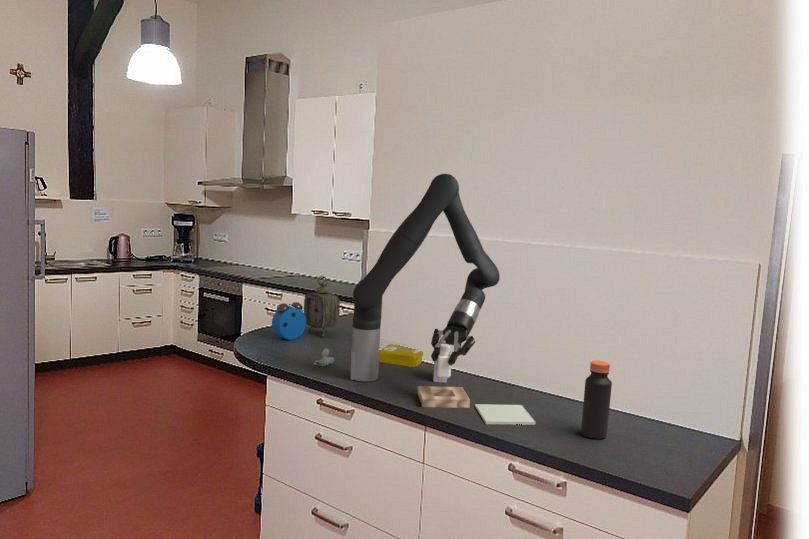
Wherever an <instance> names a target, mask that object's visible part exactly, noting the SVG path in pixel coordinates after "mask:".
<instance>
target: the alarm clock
mask: <svg viewBox="0 0 809 539" xmlns="http://www.w3.org/2000/svg"><path fill="white" fill-rule="evenodd" d="M303 310H304V306H303V305H302V304H301V303H300V302H299V301H298V302H297V301H296V302H295V301H294V302H292V303H284V302H283V303H279V305H277V307H276V311H275V312H274V314H273V316H272V319H271V328H272V331H273V333H274V334H275V335H276V336H277V337H278V340H280V338H283V339H285V340H288V341H293V340H296V339H298V338H299V337H300V336H302V334H303V333H304V331H305V329H306V326H307V324H306V317H305V315H304V311H303Z"/></svg>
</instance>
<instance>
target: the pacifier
mask: <svg viewBox="0 0 809 539" xmlns="http://www.w3.org/2000/svg"><path fill="white" fill-rule="evenodd" d="M329 354H330V350H329V348H324V349H323V350H322V352H321V357H322V358H321V359H317V360H314V362H313V365H314V366H319V367H327V366H329V365H330V364H333V363H334V362H335V357H334V356H333V357H332V356H329ZM326 365H327V366H326Z"/></svg>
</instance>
